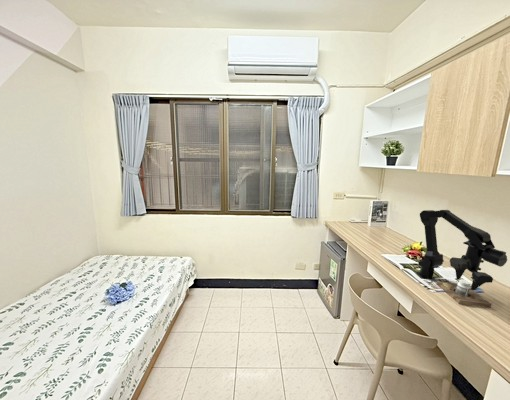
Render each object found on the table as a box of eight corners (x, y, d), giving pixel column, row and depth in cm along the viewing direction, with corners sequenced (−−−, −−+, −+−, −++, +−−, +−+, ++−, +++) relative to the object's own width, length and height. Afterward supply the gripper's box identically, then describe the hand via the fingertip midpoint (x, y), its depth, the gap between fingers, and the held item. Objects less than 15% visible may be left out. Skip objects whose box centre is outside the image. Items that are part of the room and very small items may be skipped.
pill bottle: (460, 293, 115) (464, 279, 113) (469, 299, 110) (474, 284, 109) (451, 292, 115) (456, 278, 113) (460, 298, 110) (464, 284, 108)
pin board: (436, 284, 122) (437, 280, 121) (463, 287, 120) (465, 284, 120) (458, 303, 106) (459, 299, 106) (490, 307, 105) (491, 303, 104)
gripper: (442, 246, 117) (435, 272, 121) (471, 263, 99) (461, 293, 103) (465, 248, 116) (457, 274, 120) (498, 266, 98) (488, 297, 101)
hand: (464, 284), depth 111 cm, fingers open, 9 cm apart
